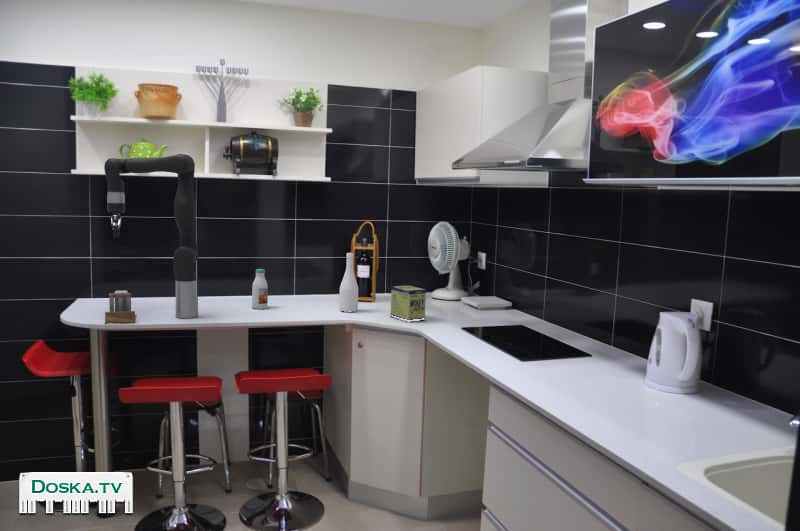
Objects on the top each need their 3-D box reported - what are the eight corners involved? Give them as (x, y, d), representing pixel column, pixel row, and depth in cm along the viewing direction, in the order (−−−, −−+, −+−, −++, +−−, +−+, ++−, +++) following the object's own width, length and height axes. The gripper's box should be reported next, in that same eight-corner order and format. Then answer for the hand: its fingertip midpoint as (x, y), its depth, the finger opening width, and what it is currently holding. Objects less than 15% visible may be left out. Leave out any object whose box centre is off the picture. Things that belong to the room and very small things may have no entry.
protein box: (408, 322, 313) (409, 290, 311) (389, 317, 326) (390, 286, 324) (425, 321, 319) (427, 289, 318) (406, 315, 332) (407, 284, 330)
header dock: (108, 316, 301) (107, 289, 299) (136, 315, 305) (136, 288, 303) (105, 323, 286) (104, 295, 284) (134, 323, 290) (134, 294, 288)
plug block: (115, 317, 298) (115, 290, 296) (127, 316, 300) (127, 290, 298) (114, 319, 293) (114, 292, 292) (127, 319, 295) (126, 292, 293)
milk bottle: (252, 309, 330) (252, 270, 328) (251, 306, 338) (252, 268, 335) (268, 309, 333) (268, 270, 330) (266, 306, 340) (267, 268, 338)
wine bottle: (354, 313, 331) (356, 254, 327) (336, 312, 332) (338, 253, 329) (359, 310, 340) (361, 252, 336) (342, 308, 342) (343, 251, 338)
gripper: (123, 202, 298) (124, 238, 300) (125, 201, 311) (126, 235, 313) (105, 202, 296) (106, 238, 298) (108, 201, 309) (109, 235, 311)
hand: (116, 236), depth 305 cm, fingers open, 8 cm apart
